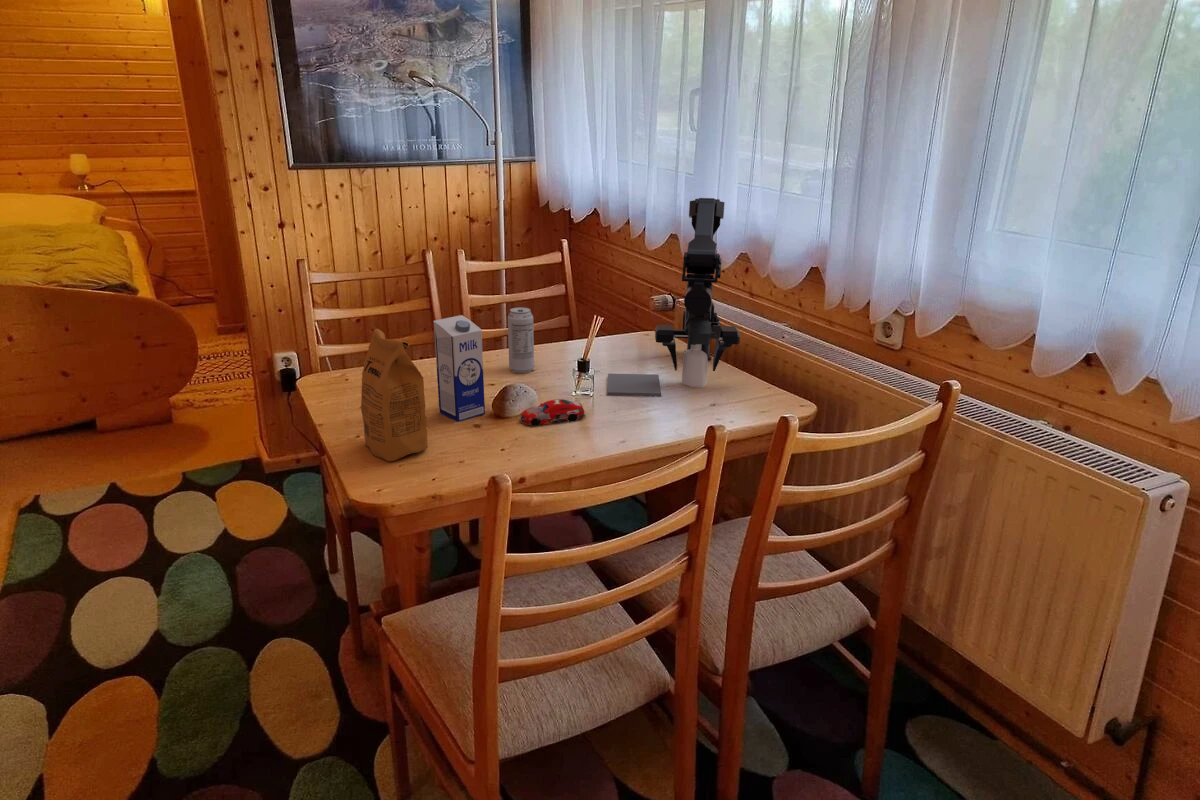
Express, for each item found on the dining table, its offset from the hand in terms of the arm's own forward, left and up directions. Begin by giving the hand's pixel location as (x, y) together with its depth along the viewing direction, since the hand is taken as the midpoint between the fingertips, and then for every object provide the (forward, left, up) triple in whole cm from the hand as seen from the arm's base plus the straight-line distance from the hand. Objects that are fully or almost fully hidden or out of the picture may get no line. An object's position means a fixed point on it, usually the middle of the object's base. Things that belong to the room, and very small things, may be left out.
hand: (694, 370), depth 179 cm
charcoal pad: (+2, -14, -4) cm, 15 cm away
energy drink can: (-8, -41, -4) cm, 42 cm away
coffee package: (+39, -59, -4) cm, 71 cm away
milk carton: (+21, -50, -4) cm, 54 cm away
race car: (+23, -31, -4) cm, 39 cm away
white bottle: (0, 0, -4) cm, 4 cm away
